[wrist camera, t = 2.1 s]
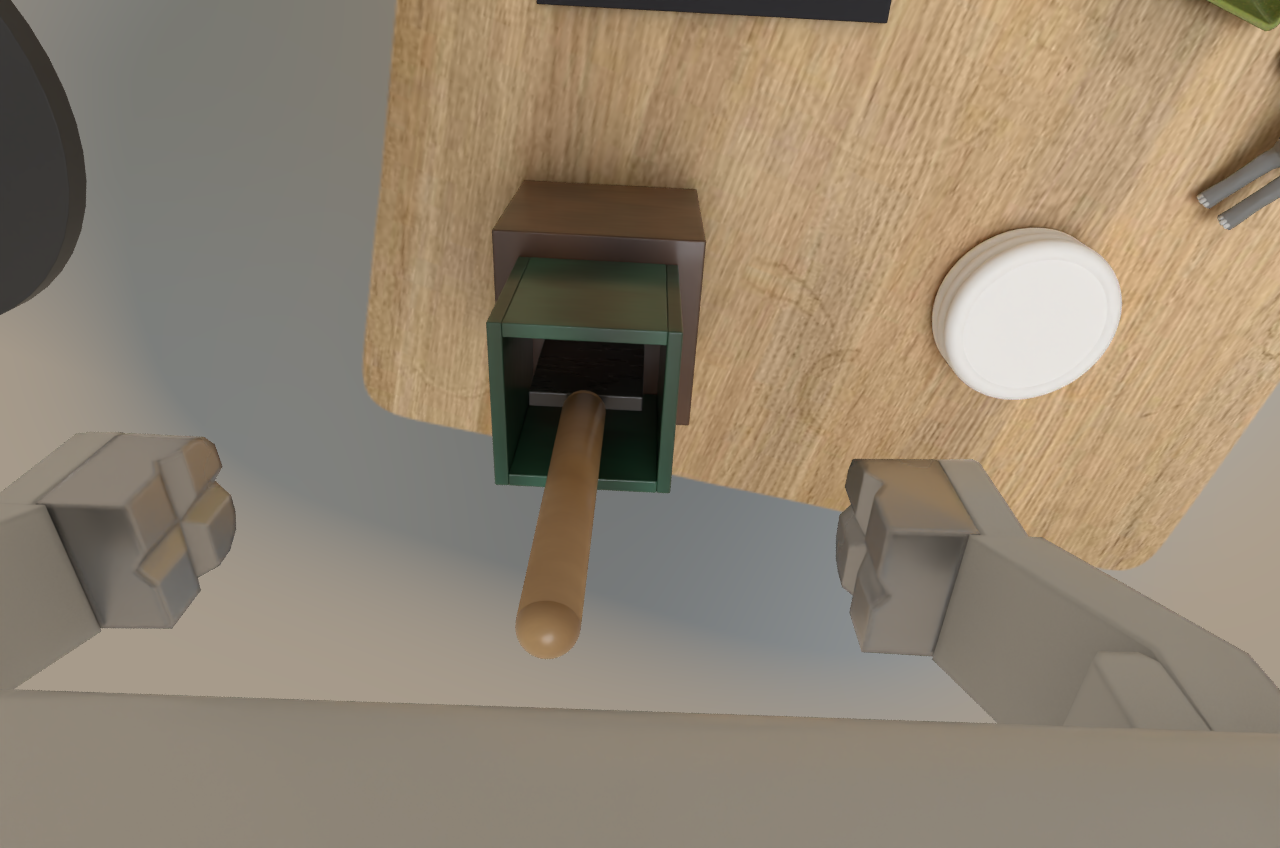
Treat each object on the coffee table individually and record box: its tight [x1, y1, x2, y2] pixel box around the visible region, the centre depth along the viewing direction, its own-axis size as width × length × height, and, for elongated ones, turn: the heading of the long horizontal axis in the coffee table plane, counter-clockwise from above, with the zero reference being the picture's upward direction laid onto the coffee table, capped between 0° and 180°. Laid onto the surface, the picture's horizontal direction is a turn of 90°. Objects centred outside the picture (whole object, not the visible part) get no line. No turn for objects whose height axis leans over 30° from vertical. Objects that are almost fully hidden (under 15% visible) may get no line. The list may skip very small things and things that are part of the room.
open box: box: [486, 180, 706, 493], centre depth 39 cm, size 10×10×18 cm
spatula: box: [515, 339, 645, 659], centre depth 30 cm, size 5×2×21 cm, turn 87°
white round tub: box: [932, 228, 1122, 400], centre depth 46 cm, size 10×10×4 cm
